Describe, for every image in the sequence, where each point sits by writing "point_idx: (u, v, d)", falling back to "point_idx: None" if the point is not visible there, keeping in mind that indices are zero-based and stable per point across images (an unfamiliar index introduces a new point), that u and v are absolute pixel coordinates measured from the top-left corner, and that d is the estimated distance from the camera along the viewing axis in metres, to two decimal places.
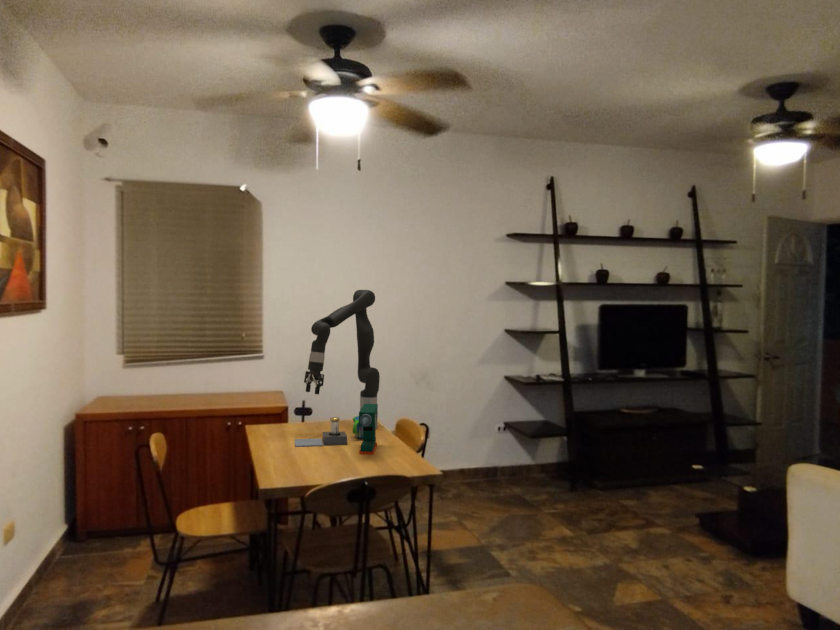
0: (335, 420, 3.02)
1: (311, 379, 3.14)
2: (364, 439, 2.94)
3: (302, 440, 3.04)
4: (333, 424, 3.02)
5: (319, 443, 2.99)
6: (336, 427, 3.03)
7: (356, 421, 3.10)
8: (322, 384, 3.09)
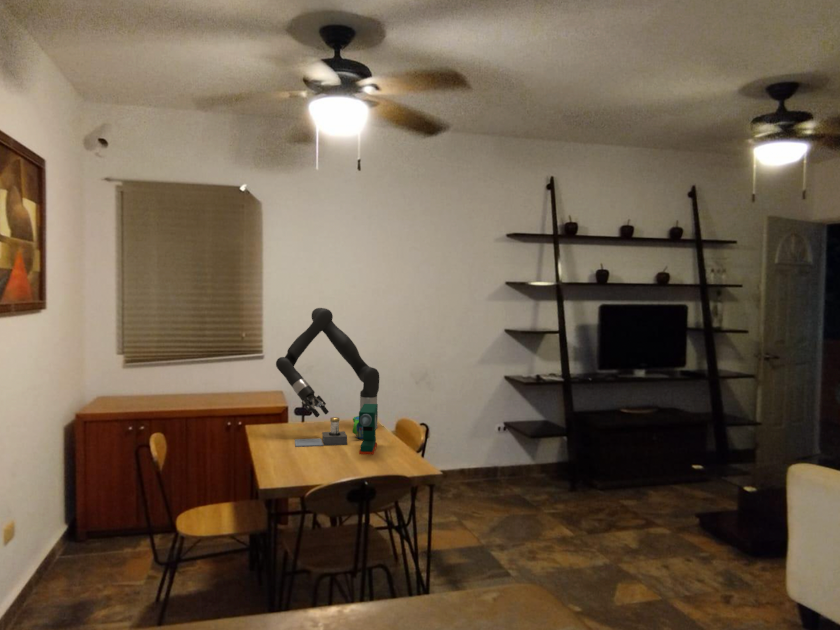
0: (335, 420, 3.02)
1: None
2: (364, 439, 2.94)
3: (302, 440, 3.04)
4: (333, 424, 3.02)
5: (319, 443, 2.99)
6: (336, 427, 3.03)
7: (356, 421, 3.10)
8: (309, 407, 3.01)
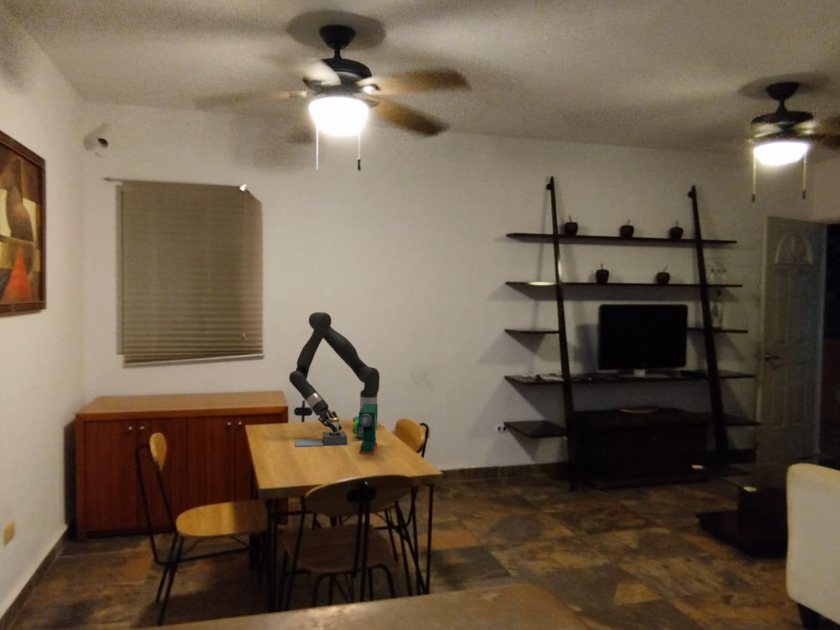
0: (335, 420, 3.02)
1: None
2: (364, 439, 2.94)
3: (302, 440, 3.04)
4: (333, 424, 3.02)
5: (319, 443, 2.99)
6: (336, 427, 3.03)
7: (356, 421, 3.10)
8: (327, 423, 3.00)
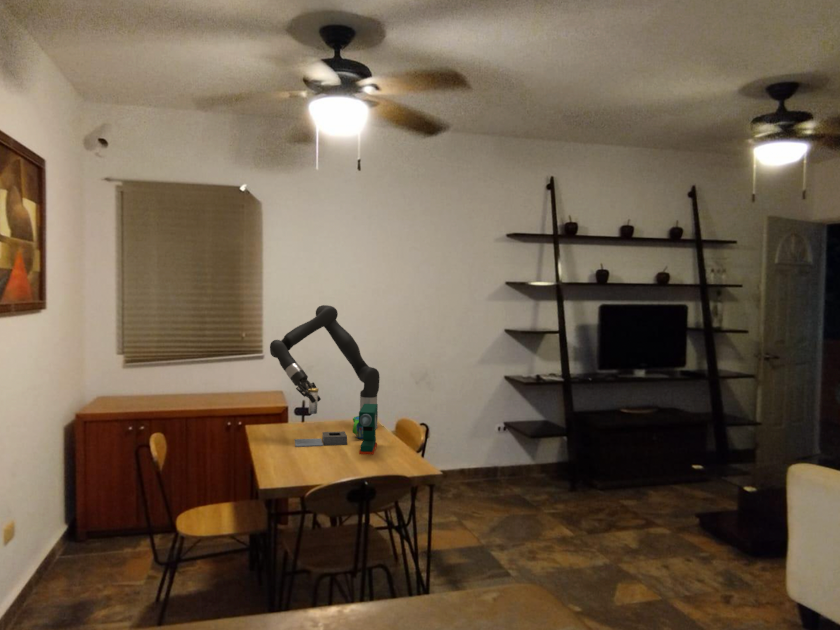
0: (314, 390, 2.99)
1: None
2: (364, 439, 2.94)
3: (302, 440, 3.04)
4: (312, 394, 2.99)
5: (319, 443, 2.99)
6: (315, 397, 2.99)
7: (356, 421, 3.10)
8: (305, 393, 2.97)
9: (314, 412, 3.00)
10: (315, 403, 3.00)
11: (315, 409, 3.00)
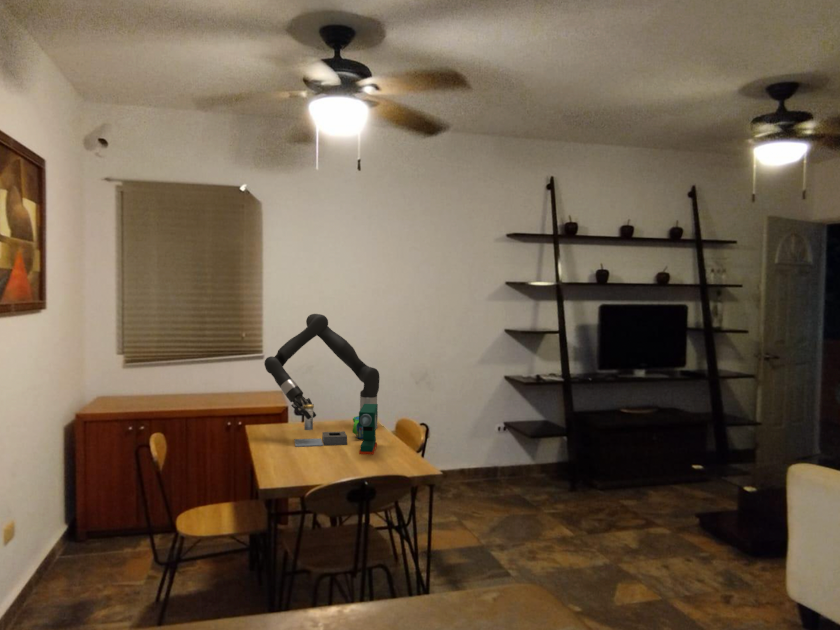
0: (309, 407, 2.99)
1: None
2: (364, 439, 2.94)
3: (302, 440, 3.04)
4: None
5: (319, 443, 2.99)
6: (310, 414, 2.99)
7: (356, 421, 3.10)
8: (301, 409, 2.97)
9: (310, 428, 3.00)
10: (311, 419, 3.00)
11: (311, 425, 3.00)
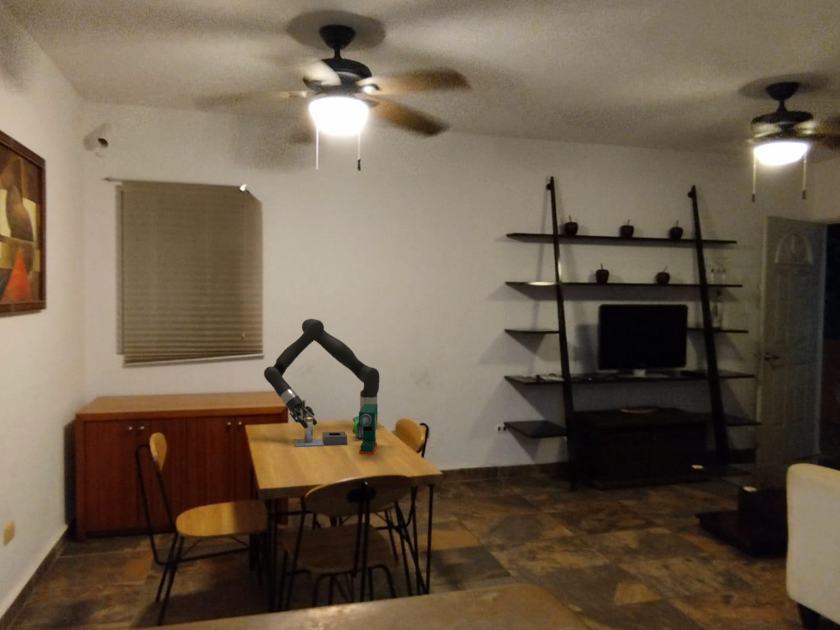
0: (309, 419, 2.99)
1: None
2: (364, 439, 2.94)
3: (302, 440, 3.04)
4: (307, 423, 2.99)
5: (319, 443, 2.99)
6: (310, 426, 3.00)
7: (356, 421, 3.10)
8: (297, 419, 2.95)
9: (310, 441, 3.00)
10: (310, 432, 3.00)
11: (311, 438, 3.00)
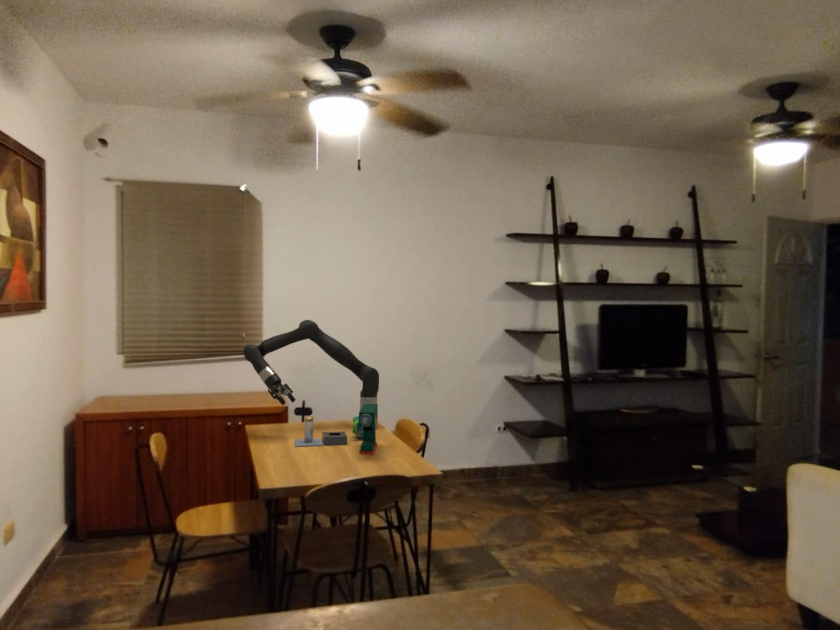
0: (309, 419, 2.99)
1: None
2: (364, 439, 2.94)
3: (302, 440, 3.04)
4: (307, 423, 2.99)
5: (319, 443, 2.99)
6: (310, 426, 3.00)
7: (356, 421, 3.10)
8: (275, 395, 3.00)
9: (310, 441, 3.00)
10: (310, 432, 3.00)
11: (311, 438, 3.00)
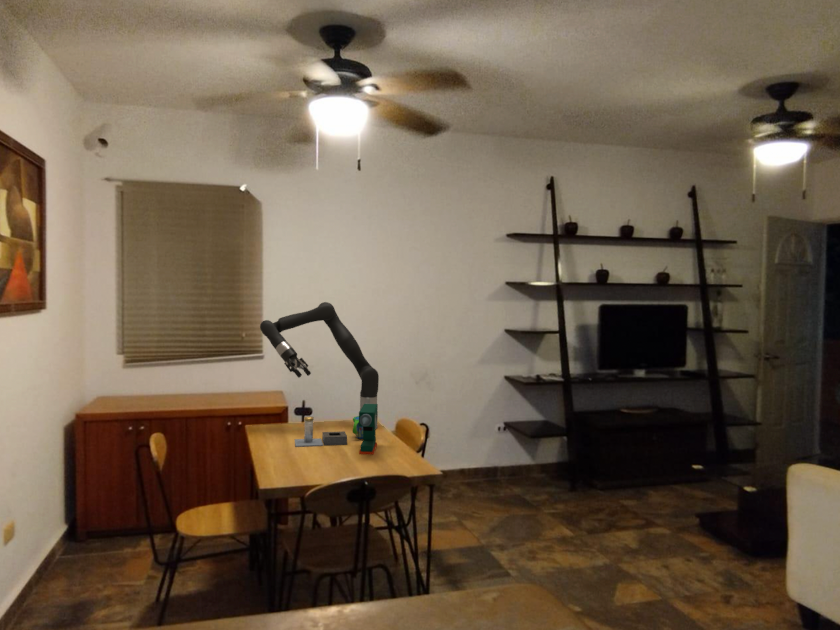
0: (309, 419, 2.99)
1: None
2: (364, 439, 2.94)
3: (302, 440, 3.04)
4: (307, 423, 2.99)
5: (319, 443, 2.99)
6: (310, 426, 3.00)
7: (356, 421, 3.10)
8: (291, 368, 3.11)
9: (310, 441, 3.00)
10: (310, 432, 3.00)
11: (311, 438, 3.00)
